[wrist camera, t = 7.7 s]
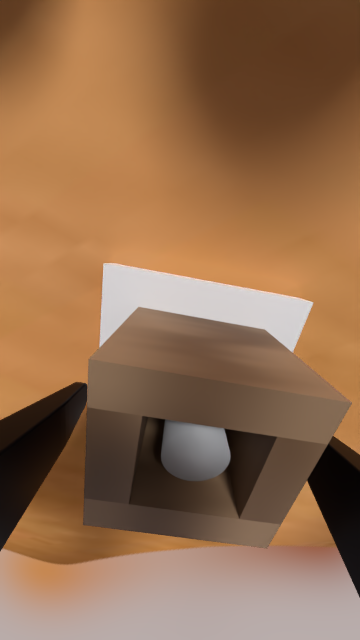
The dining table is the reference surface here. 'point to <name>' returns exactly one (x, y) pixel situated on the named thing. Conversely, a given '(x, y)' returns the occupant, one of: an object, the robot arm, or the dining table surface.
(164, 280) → the post base
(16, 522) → the robot arm
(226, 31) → the dining table surface
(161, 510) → the collar
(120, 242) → the dining table surface
